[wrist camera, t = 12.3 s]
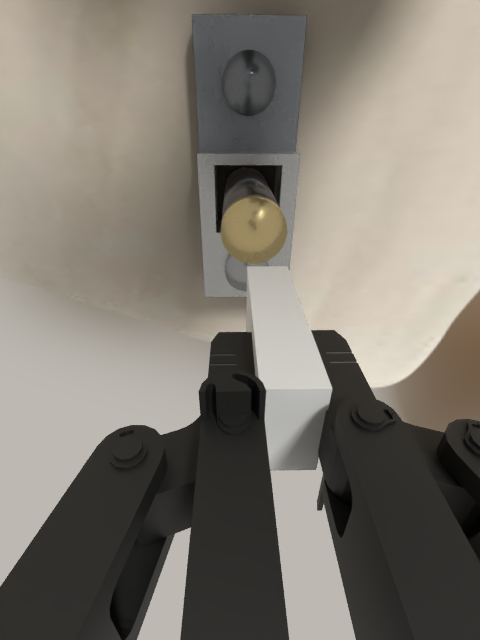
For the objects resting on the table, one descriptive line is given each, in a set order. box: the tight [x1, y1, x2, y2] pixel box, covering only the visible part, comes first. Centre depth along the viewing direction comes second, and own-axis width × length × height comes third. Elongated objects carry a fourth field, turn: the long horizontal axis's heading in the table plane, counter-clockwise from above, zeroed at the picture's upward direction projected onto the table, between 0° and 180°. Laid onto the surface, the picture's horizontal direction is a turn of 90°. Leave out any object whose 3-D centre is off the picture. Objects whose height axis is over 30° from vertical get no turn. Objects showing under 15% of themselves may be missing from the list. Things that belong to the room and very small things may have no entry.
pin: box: [221, 167, 287, 264], centre depth 26 cm, size 4×4×13 cm
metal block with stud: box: [192, 14, 307, 297], centre depth 28 cm, size 21×8×5 cm, turn 0°
